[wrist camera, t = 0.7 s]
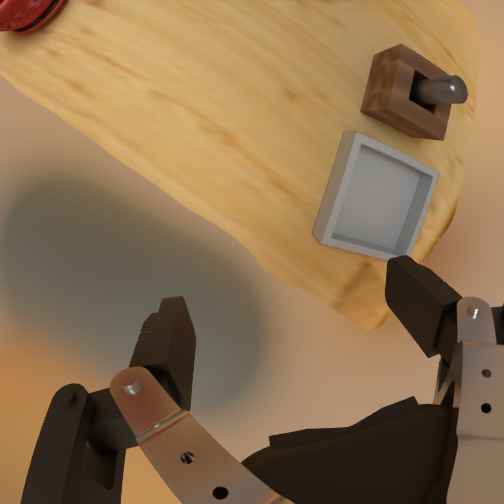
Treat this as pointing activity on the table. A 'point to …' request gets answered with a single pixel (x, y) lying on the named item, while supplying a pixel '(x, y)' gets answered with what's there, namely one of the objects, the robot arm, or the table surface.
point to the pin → (439, 91)
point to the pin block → (404, 94)
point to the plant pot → (26, 14)
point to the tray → (374, 199)
